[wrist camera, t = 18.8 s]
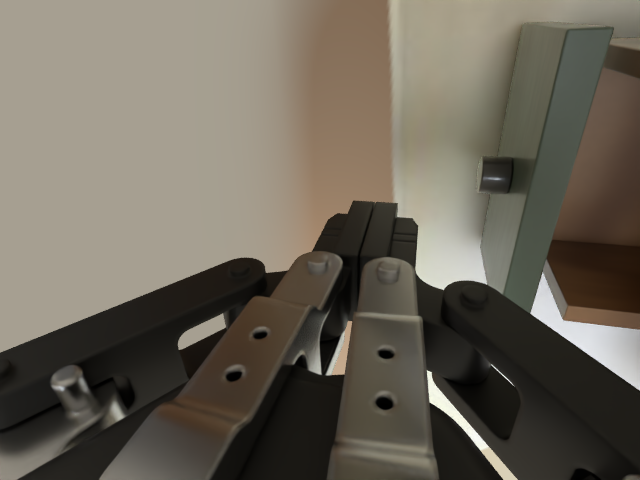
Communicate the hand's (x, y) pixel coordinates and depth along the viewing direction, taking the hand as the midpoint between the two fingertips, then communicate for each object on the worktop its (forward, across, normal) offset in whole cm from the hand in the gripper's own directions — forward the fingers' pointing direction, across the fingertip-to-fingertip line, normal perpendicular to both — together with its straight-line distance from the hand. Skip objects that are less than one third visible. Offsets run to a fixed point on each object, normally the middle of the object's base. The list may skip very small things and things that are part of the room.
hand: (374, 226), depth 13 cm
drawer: (+9, -9, 0) cm, 12 cm away
